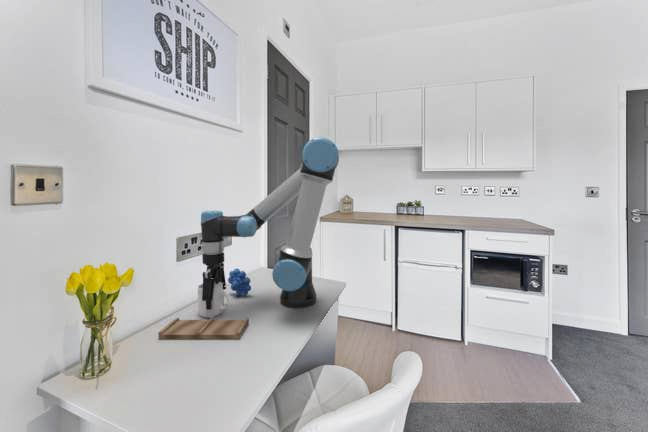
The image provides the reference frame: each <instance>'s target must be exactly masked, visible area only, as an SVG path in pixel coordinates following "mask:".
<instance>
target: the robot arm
mask: <svg viewBox="0 0 648 432" xmlns="http://www.w3.org/2000/svg"><path fill="white" fill-rule="evenodd" d="M301 156H302V163H300V167H299V169H297V170H296V171H295V172H294V173H293V174H292V175H290V177H288V178H287V179H285V181H283V182H282V183H281V184H280V185H278V187H276V188H275V189H274V190H273V191H272V192H271V193H269V194H268V195H267V196H266V197H265V198H264V199H263V200H262V201H260V202H259V203H258V204H257V205H256V206H254V207H253V208H252V209H251V210H250V211H248V212H247V213H246V214H242V215H237V216H236V215H232V216H227V215H224V212H223V211H222V210H205V211H204V210H203V211H202V212H201V214H200V226H201V227H200V228H201V229H200V230H201V244H200V246H201V247H202V248H201V249H202V250H201V251H202V264H204V265H205V266H206V271H203V272H202V283H203V291H202V301H206V317H205V318H208V319H210V318H214V319H215V317H216V316H215V315H214V299H213V292H214V285H215V284H218V283H219V282H221V283H222V284H223V291H224V290H226V289H227V285H226V284H227V282H226V276H225V263H224V262H225V252H224V251H225V239H224V238H226V237H229V238H230V237H231V238H250V237H254V236H255V235H256V232H257V231H258V230H260V229H261V228H262V227H263V225H264V224H265V223H266V222H268V221H269V220H271V218H273V216H275V215H276V214H277V213H279V212H280V210H282V209H283V208H284V207H286V206H287V205H288V204H289V203H290V202H292V201H293V200H294V199H295V198H296V197H298V198H297V201H296V205H295V207H294V208H295V209H294V212H293V216H292V221H291V224H290V229H289V232H288V236H287V241H286V243H285V244H284V245H283V246H281V247H280V251H279V254H278V259H277V262H276V264H275V265H274V266H273V269H272V275H271V276H272V279H273V282H274V283H275V284H276V286H277V288H279V289H281V293H280V296H279V302H280V305H282V306H284V307H287V308H290V309H291V308H292V309H301V308H302V309H303V308H306V307H307V308H308V307H310V306H312V305H315V303H317V293H316V289H315V287H314V282H313V250H312V247H311V246H312V241H313V239H314V234H315V231H316V227H317V222H318V220H319V215H320V212H321V208H322V204H323V200H324V196H325V193H326V189H327V186H328V185H330V184H331V183H332V182H333V179H334V176H335V172H336V169H337V167H338V165H339V161H340V159H339V157H340V156H339V150H338V147H337V145H336V143H335V142H333V141H332V140H331V139H329V138H327V137H324V136H318V137H317V136H316V137H314V138H312V139H310V140H309V141H307V142H306V143H305V145H304V147H303V150H302V155H301ZM224 292H225V291H224ZM223 306H225V296H224V295H223Z"/></svg>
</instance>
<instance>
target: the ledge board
mask: <svg viewBox="0 0 648 432" xmlns="http://www.w3.org/2000/svg"><path fill="white" fill-rule="evenodd" d="M249 318H250V317H245V319H215V317H214V318H208V319H180V317H175V319H173V320H172V321H170V323H168V324H167V325H166V326H165V327H164V328H162V329H161V330H160V331H158V340H240V339H241V337H242V336H243V334H244V332H245V331H246V329H247V328H248V327H249V324H250V321H249Z"/></svg>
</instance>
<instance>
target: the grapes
mask: <svg viewBox="0 0 648 432" xmlns="http://www.w3.org/2000/svg"><path fill="white" fill-rule="evenodd" d="M228 276H229V277H228V278H227V281H228V283H229V284H231V285H230V290H231V291H232V292H235V294H236V295H237V296H242V295H243V297H245V296H247V295H248V294H249V292H250V291H251V290H252V286H251V285H250V284H251V278H249V277H248V276H247V273H246V271H244V270H240V269H239V268H234V269H233V270H230V271H229V274H228Z"/></svg>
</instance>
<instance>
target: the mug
mask: <svg viewBox="0 0 648 432" xmlns="http://www.w3.org/2000/svg"><path fill="white" fill-rule="evenodd" d="M202 291H203V282H202V283H200V284H198V285H197V299H198V300H197V301H198V302H197V303H198V314H199V316H200V317H202V318H206V301H202ZM223 295H224V298H226V301H227V304H226V305H224V306H223ZM213 299H214V315H215V317H216V316H218V315H220V314H222V313H223V312H224V311H225V310H227V309H228V307H229V303H230V302H229V296H228V294H227V293H226V291H223V284H222V283H221V282H219V283H218V284H215V285H214V292H213Z"/></svg>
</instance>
